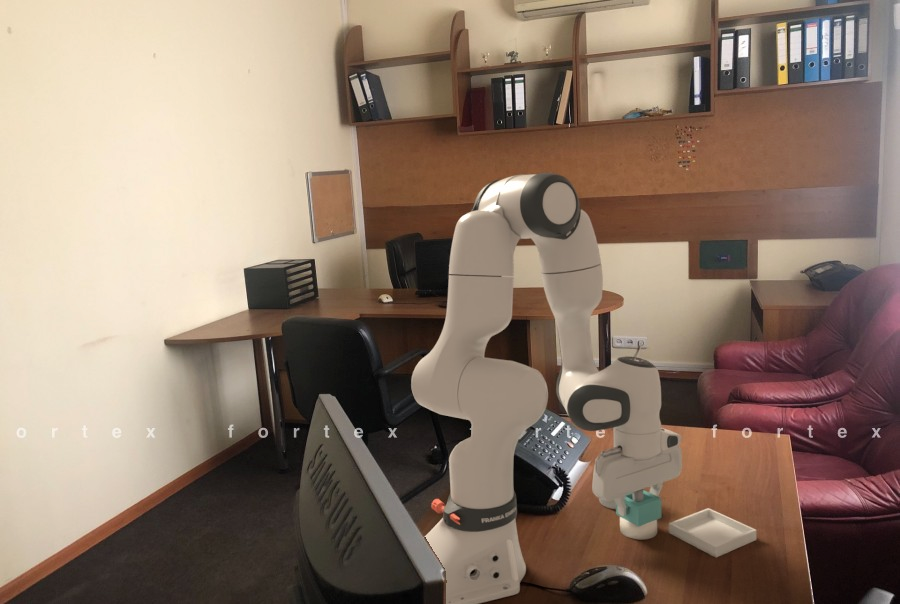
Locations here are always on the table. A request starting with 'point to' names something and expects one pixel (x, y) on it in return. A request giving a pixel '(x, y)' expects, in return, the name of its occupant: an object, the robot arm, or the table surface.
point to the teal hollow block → (642, 509)
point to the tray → (712, 532)
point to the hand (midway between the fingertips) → (638, 509)
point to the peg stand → (642, 531)
